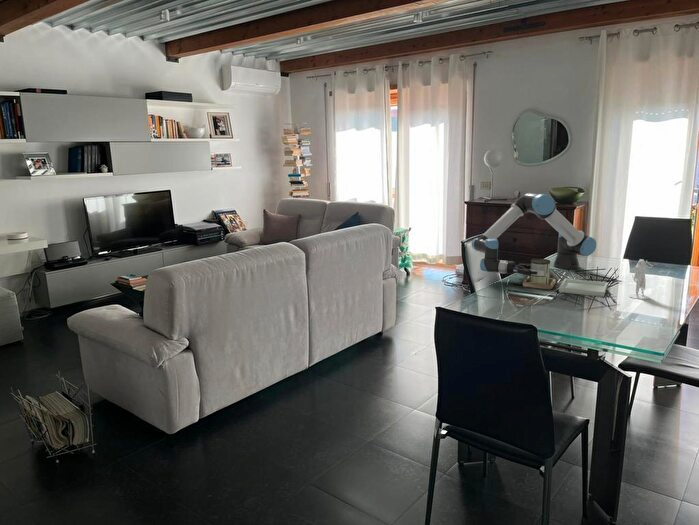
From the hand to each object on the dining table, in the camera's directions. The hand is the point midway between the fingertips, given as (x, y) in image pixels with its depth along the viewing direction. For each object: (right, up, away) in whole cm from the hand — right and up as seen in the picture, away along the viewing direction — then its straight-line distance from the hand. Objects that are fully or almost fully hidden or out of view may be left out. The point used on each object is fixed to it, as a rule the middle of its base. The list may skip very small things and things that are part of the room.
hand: (546, 270), depth 295 cm
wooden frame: (-3, -8, +3) cm, 9 cm away
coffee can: (-3, -8, +3) cm, 9 cm away
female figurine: (+37, -14, -25) cm, 47 cm away
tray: (+17, -10, -8) cm, 22 cm away
